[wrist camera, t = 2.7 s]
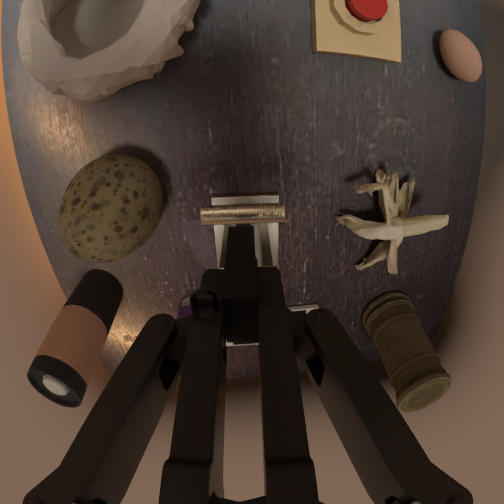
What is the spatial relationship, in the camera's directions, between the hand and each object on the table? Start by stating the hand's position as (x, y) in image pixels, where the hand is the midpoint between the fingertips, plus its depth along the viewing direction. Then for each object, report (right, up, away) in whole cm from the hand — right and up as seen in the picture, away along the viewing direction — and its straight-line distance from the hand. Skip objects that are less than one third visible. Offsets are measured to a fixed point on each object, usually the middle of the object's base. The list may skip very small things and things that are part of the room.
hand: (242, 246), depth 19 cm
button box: (+12, +27, +6) cm, 30 cm away
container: (+23, -10, +29) cm, 39 cm away
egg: (+28, +21, +7) cm, 36 cm away
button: (+12, +25, +3) cm, 28 cm away
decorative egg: (-14, +8, +17) cm, 24 cm away
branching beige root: (+18, +5, +20) cm, 27 cm away
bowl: (-14, +27, +6) cm, 30 cm away
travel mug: (-23, -6, +26) cm, 35 cm away
